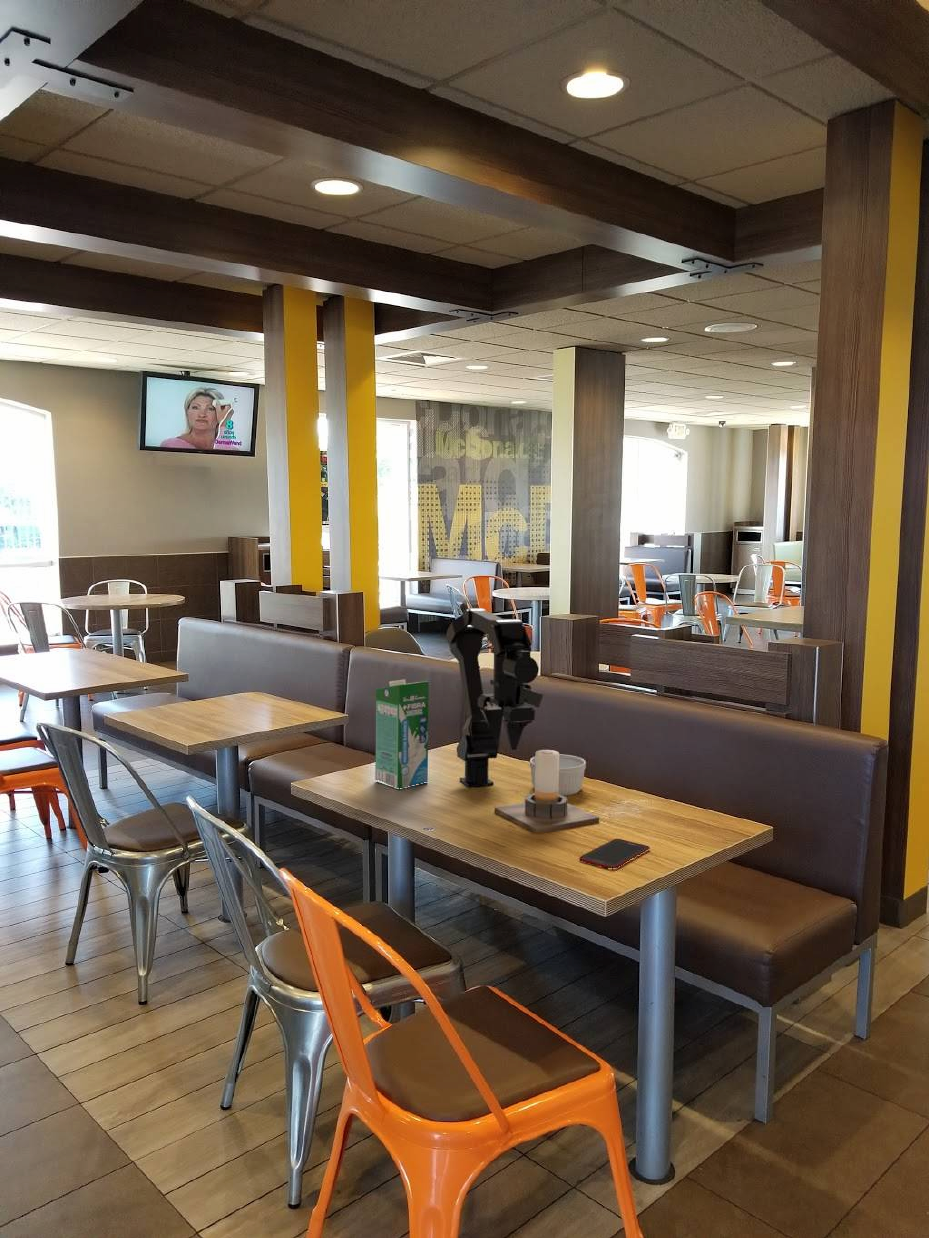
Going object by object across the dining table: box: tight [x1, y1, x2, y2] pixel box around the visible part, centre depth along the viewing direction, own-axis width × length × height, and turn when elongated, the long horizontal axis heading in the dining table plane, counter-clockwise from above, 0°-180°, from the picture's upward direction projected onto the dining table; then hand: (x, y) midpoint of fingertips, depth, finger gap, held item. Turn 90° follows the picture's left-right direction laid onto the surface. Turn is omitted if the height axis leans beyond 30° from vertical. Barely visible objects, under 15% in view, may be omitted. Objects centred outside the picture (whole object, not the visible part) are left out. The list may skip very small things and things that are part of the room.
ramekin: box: [529, 753, 587, 796], centre depth 221 cm, size 13×13×7 cm
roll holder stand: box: [494, 793, 600, 835], centre depth 200 cm, size 16×16×4 cm
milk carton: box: [374, 678, 430, 789], centre depth 224 cm, size 9×9×25 cm
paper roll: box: [533, 749, 560, 804], centre depth 200 cm, size 5×5×13 cm
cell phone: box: [578, 838, 650, 869], centre depth 178 cm, size 8×15×1 cm, turn 142°
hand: (505, 744), depth 210 cm, fingers open, 9 cm apart
